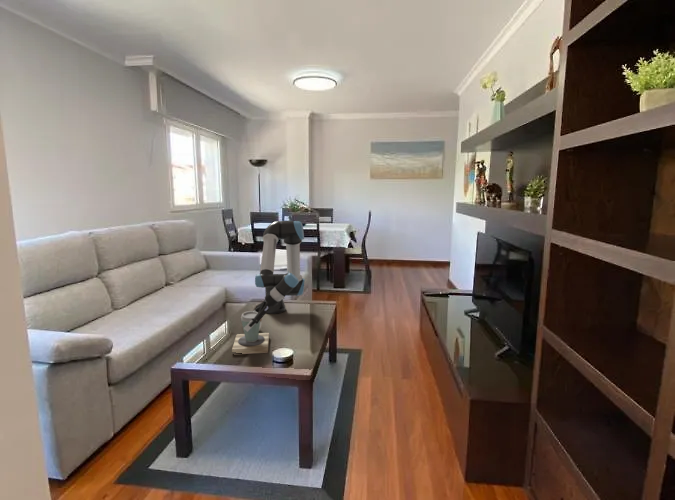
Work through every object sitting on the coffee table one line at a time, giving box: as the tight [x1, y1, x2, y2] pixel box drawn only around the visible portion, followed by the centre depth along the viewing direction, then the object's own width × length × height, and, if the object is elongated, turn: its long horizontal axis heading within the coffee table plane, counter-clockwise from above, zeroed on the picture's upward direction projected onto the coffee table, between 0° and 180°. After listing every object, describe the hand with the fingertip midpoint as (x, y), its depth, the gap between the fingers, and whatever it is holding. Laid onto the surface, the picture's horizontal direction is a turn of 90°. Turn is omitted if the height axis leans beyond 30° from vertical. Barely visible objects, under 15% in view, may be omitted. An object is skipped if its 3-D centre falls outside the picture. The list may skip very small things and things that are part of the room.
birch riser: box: [231, 332, 270, 355], centre depth 195 cm, size 18×18×3 cm
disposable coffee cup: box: [240, 310, 261, 342], centre depth 194 cm, size 11×11×15 cm
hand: (246, 324), depth 193 cm, fingers open, 13 cm apart
